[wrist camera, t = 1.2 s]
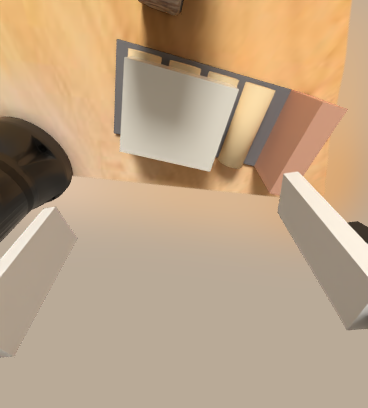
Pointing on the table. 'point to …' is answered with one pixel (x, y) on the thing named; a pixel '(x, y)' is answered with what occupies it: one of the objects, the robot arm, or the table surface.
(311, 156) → the stop block
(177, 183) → the table surface
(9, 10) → the table surface
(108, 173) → the table surface
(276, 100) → the roller bed
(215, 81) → the slab
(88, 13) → the table surface
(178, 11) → the stone block
